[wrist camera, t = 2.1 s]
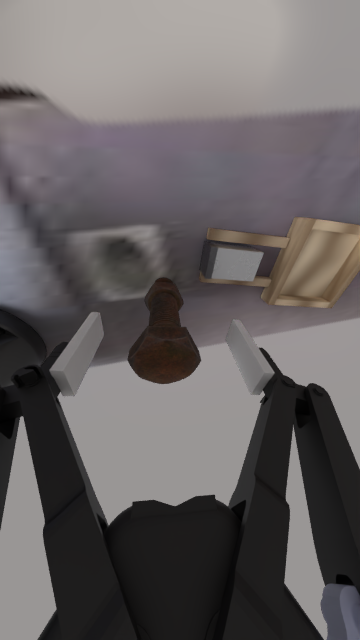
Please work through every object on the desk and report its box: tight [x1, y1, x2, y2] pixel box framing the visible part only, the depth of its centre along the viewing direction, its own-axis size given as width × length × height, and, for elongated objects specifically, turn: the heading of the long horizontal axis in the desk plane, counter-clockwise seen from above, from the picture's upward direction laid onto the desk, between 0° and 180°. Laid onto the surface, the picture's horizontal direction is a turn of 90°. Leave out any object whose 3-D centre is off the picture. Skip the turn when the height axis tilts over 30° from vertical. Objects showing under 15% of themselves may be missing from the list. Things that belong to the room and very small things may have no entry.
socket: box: [199, 217, 360, 308], centre depth 23 cm, size 23×12×2 cm, turn 84°
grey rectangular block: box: [200, 241, 264, 281], centre depth 21 cm, size 6×4×4 cm, turn 84°
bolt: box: [128, 278, 201, 384], centre depth 19 cm, size 6×5×15 cm
